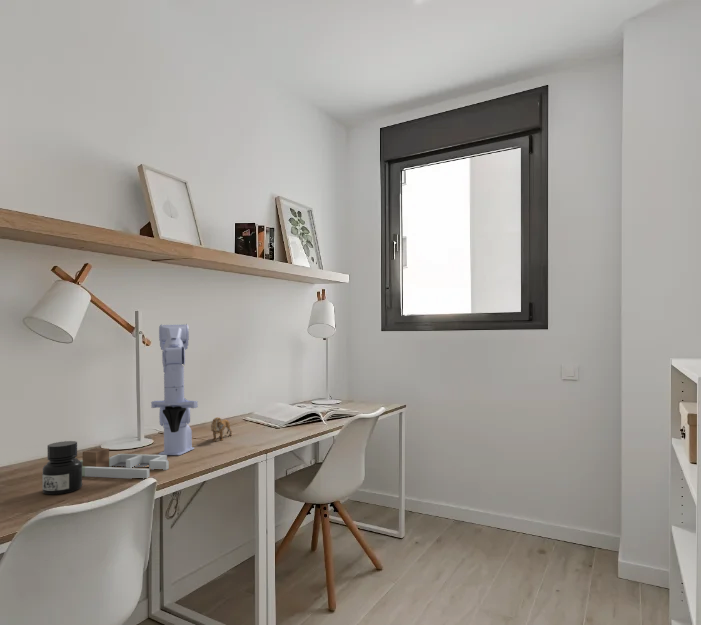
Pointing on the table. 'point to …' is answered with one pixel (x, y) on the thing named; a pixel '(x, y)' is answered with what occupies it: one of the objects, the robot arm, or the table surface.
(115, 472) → the trap box
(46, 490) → the ink bottle
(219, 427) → the lion figurine
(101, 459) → the walnut block
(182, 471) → the table surface
